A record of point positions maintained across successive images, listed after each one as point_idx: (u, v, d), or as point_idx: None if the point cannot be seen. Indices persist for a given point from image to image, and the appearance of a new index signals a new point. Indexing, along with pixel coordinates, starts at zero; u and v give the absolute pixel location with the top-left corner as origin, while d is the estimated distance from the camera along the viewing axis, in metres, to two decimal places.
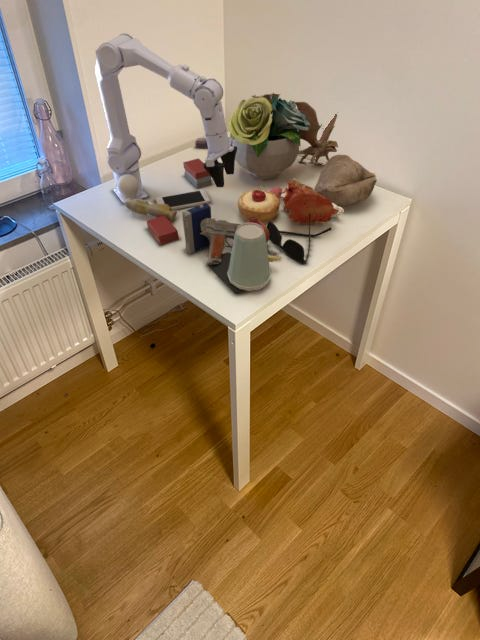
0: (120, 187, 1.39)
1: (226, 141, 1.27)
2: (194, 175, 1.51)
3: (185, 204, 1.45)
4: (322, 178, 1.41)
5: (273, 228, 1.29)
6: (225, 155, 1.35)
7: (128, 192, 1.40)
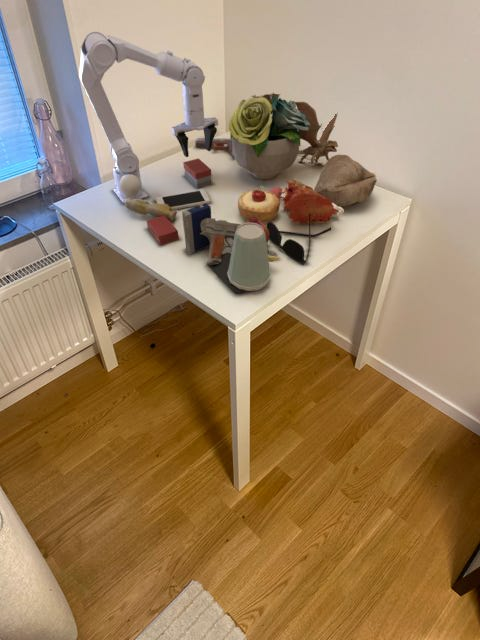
0: (122, 186, 1.39)
1: (197, 120, 1.41)
2: (194, 175, 1.51)
3: (185, 204, 1.45)
4: (322, 178, 1.41)
5: (273, 228, 1.29)
6: (206, 132, 1.48)
7: (130, 191, 1.40)
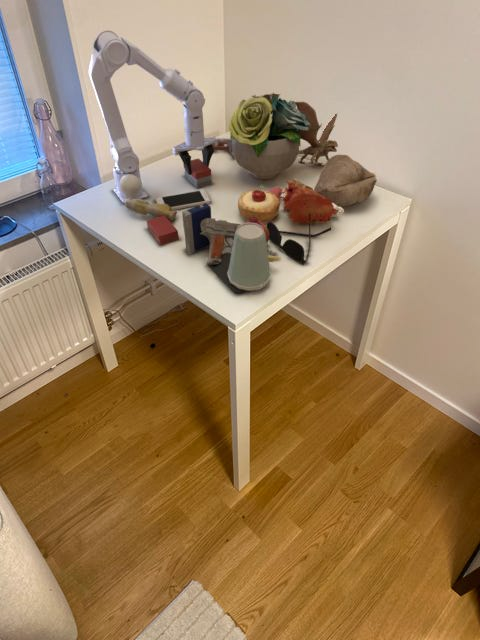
0: (122, 186, 1.39)
1: (197, 140, 1.46)
2: (194, 175, 1.51)
3: (185, 204, 1.45)
4: (322, 178, 1.41)
5: (273, 228, 1.29)
6: (204, 152, 1.53)
7: (130, 191, 1.40)
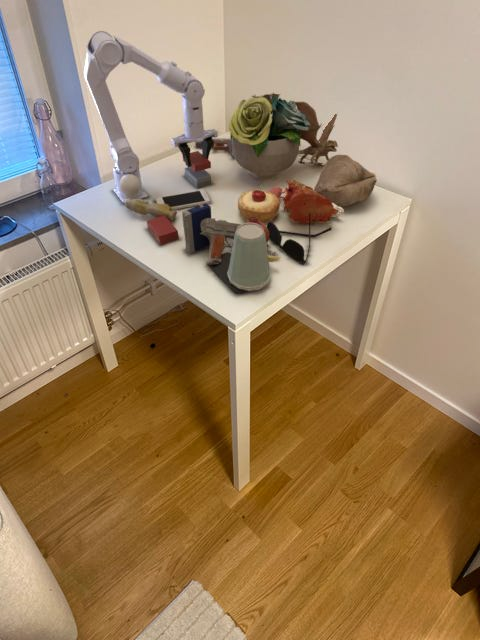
0: (122, 186, 1.39)
1: (196, 132, 1.44)
2: (193, 167, 1.50)
3: (185, 204, 1.45)
4: (322, 178, 1.41)
5: (273, 228, 1.29)
6: (203, 144, 1.51)
7: (130, 191, 1.40)
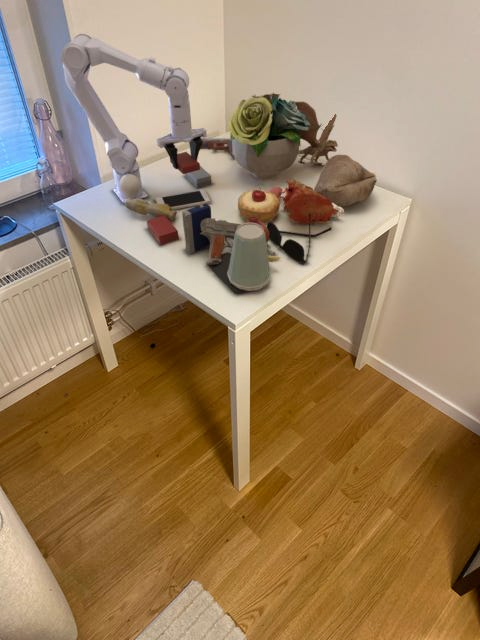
0: (122, 186, 1.39)
1: (184, 131, 1.34)
2: (181, 169, 1.39)
3: (185, 204, 1.45)
4: (322, 178, 1.41)
5: (273, 228, 1.29)
6: (191, 144, 1.41)
7: (130, 191, 1.40)
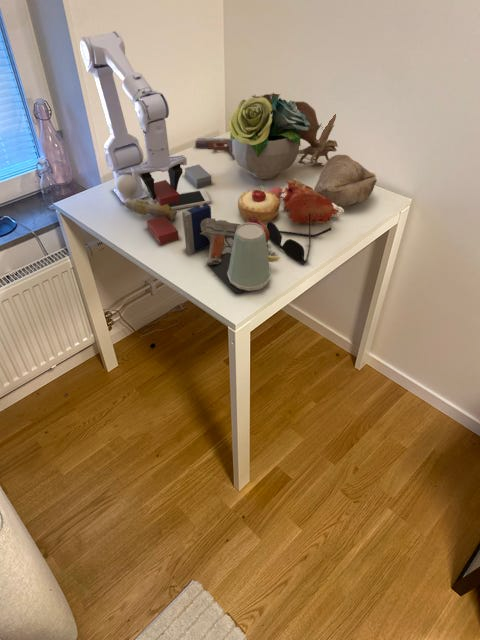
0: (119, 188, 1.39)
1: (160, 160, 1.21)
2: (159, 201, 1.27)
3: (185, 204, 1.45)
4: (322, 178, 1.41)
5: (273, 228, 1.29)
6: (170, 172, 1.28)
7: (127, 192, 1.40)
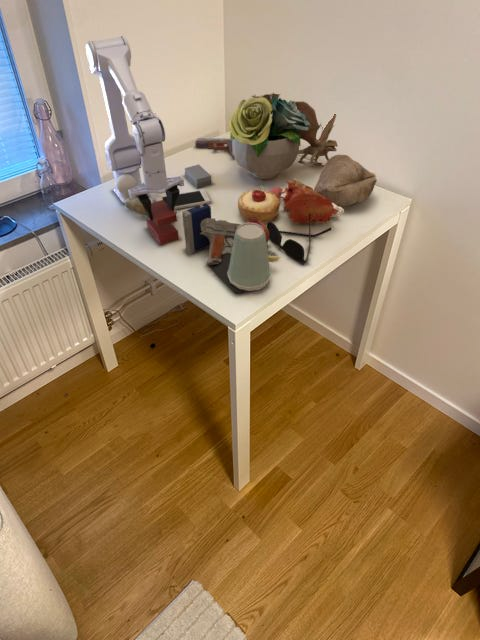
0: (119, 188, 1.39)
1: (157, 182, 1.22)
2: (156, 222, 1.27)
3: (185, 204, 1.45)
4: (322, 178, 1.41)
5: (273, 228, 1.29)
6: (167, 193, 1.29)
7: (127, 192, 1.40)
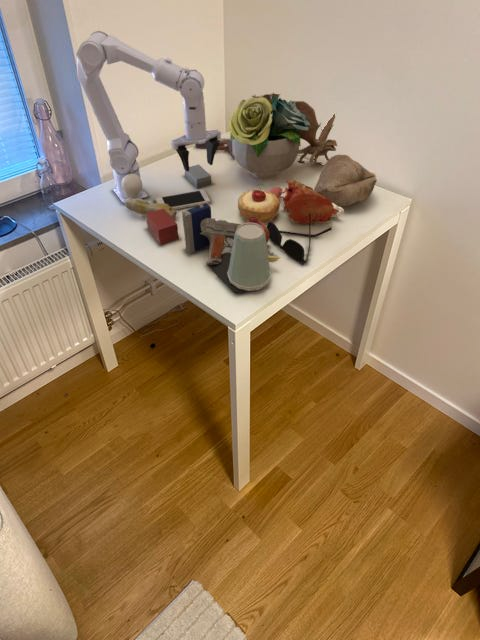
0: (124, 185, 1.39)
1: (198, 133, 1.33)
2: (157, 231, 1.29)
3: (185, 204, 1.45)
4: (322, 178, 1.41)
5: (273, 228, 1.29)
6: (208, 145, 1.41)
7: (132, 191, 1.40)
